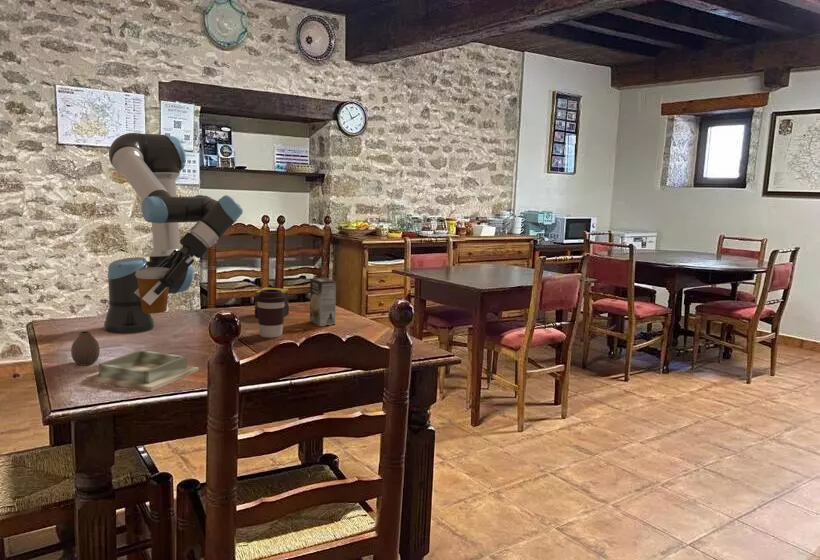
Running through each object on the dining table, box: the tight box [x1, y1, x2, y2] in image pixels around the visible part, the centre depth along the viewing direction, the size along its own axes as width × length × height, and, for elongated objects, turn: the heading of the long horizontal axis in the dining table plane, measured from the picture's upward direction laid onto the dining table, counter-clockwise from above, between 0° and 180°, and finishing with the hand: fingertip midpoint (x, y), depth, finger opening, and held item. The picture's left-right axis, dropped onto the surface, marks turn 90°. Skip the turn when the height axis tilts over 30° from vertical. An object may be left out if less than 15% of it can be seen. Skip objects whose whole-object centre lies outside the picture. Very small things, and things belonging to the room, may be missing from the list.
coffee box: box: [309, 277, 337, 327], centre depth 229 cm, size 9×6×16 cm
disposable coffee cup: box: [135, 267, 169, 314], centre depth 178 cm, size 10×10×12 cm
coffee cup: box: [254, 289, 286, 339], centre depth 209 cm, size 10×10×15 cm
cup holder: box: [85, 349, 200, 392], centre depth 164 cm, size 20×18×4 cm
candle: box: [254, 287, 290, 319], centre depth 238 cm, size 10×10×10 cm
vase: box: [70, 330, 101, 366], centre depth 172 cm, size 7×7×9 cm
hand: (142, 298), depth 177 cm, fingers closed on disposable coffee cup, 9 cm apart
